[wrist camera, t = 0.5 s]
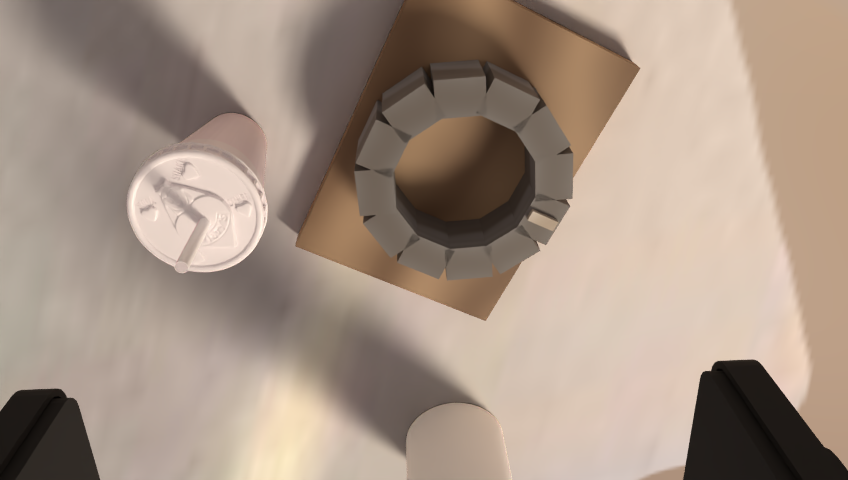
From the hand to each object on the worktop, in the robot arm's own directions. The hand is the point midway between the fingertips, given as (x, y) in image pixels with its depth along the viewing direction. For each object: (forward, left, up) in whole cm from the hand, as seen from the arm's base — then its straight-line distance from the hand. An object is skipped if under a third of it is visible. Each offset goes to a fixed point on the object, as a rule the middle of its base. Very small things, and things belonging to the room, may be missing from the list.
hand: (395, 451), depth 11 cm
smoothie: (-5, -10, -33) cm, 35 cm away
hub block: (+7, -5, -32) cm, 33 cm away
